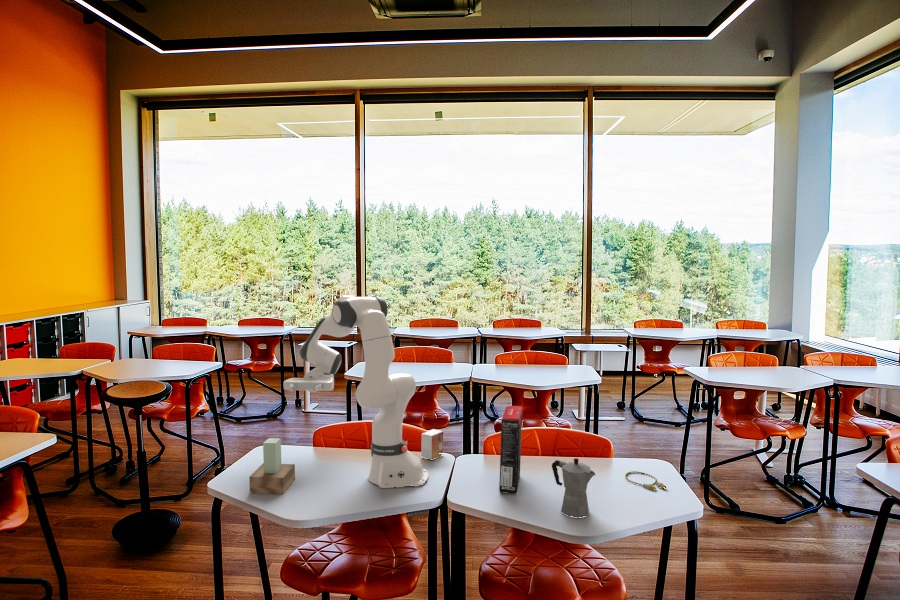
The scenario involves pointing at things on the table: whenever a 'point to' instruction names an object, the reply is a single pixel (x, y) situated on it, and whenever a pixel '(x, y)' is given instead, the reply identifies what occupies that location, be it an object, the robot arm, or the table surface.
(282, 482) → the walnut block
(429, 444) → the small box
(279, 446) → the sage block
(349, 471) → the table surface
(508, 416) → the graphics card box
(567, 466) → the coffeepot
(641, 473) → the extension cord
